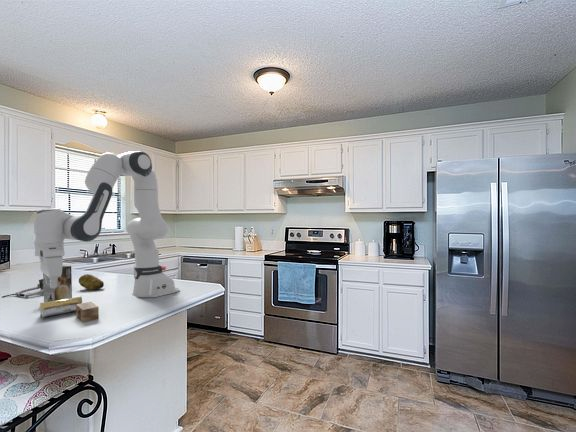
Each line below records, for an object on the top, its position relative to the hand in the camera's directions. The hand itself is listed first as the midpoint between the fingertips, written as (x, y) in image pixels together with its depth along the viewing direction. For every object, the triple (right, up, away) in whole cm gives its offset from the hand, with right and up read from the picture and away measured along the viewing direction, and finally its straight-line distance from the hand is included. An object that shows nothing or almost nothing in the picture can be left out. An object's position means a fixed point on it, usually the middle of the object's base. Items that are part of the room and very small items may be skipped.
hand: (51, 285), depth 119 cm
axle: (+2, -9, +2) cm, 10 cm away
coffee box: (-17, -13, +26) cm, 33 cm away
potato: (-16, -13, +49) cm, 53 cm away
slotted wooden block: (+15, -13, -2) cm, 20 cm away
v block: (+2, -13, +2) cm, 13 cm away
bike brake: (-39, -14, +38) cm, 57 cm away
